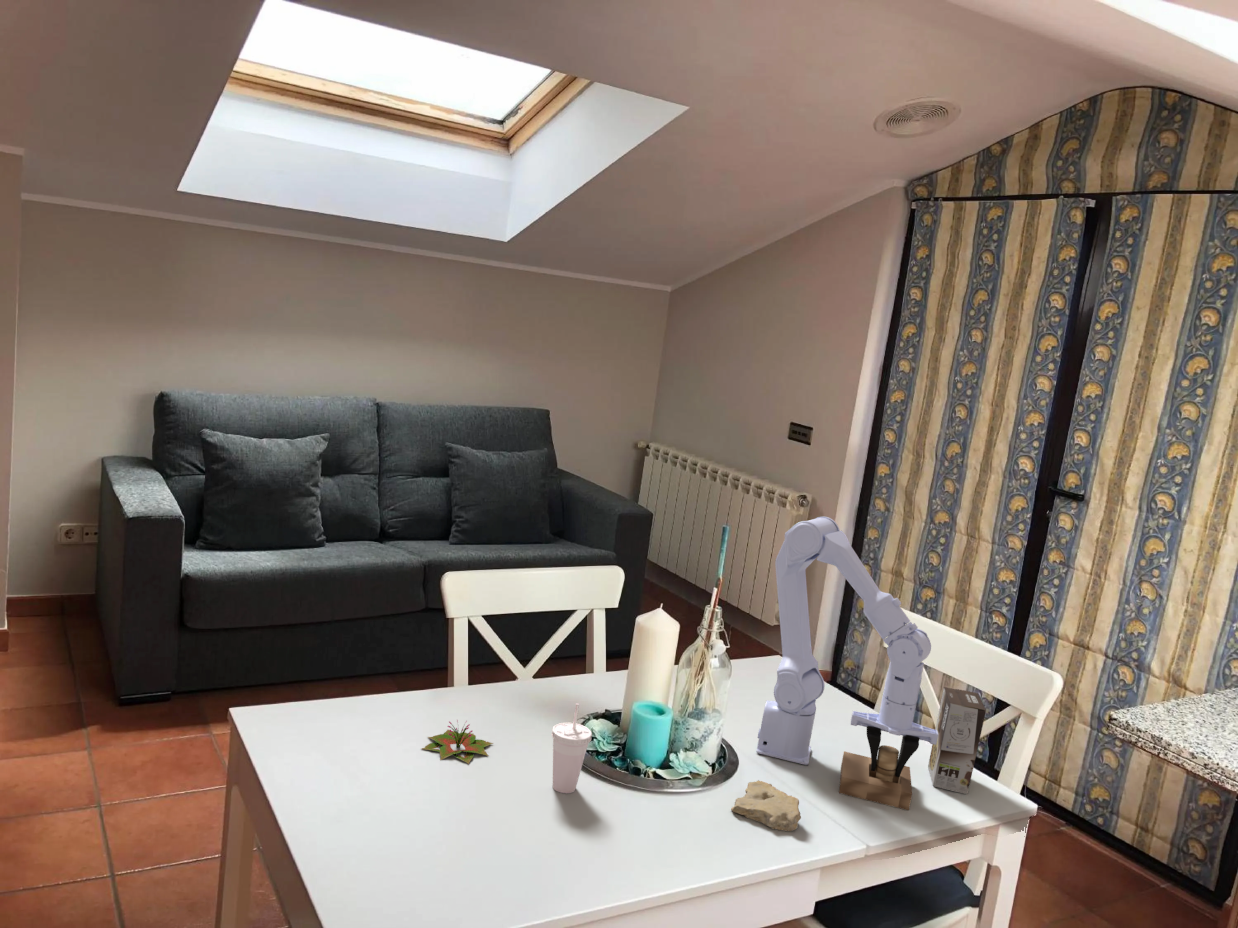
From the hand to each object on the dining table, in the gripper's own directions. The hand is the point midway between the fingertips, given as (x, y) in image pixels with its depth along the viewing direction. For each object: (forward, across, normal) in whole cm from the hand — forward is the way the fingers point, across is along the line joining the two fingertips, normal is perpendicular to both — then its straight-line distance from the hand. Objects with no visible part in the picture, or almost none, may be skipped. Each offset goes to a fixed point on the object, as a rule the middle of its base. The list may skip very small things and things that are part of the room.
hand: (885, 771), depth 171 cm
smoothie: (+4, -50, -28) cm, 57 cm away
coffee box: (+4, +12, +11) cm, 17 cm away
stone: (+4, -20, -20) cm, 28 cm away
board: (+3, -1, 0) cm, 4 cm away
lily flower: (+4, -70, -24) cm, 74 cm away
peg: (+2, 0, 0) cm, 2 cm away
